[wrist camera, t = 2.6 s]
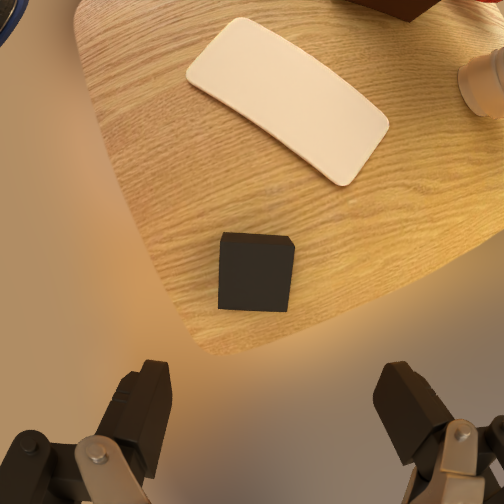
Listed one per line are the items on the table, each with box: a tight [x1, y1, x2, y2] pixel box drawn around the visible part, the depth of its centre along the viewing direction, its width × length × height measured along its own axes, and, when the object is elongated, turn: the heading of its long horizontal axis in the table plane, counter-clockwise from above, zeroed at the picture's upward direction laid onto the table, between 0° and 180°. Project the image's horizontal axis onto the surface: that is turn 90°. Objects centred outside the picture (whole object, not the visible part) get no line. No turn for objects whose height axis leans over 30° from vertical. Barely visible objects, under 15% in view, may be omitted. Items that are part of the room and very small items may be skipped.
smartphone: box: [186, 17, 389, 186], centre depth 18 cm, size 7×1×15 cm
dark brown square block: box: [218, 232, 295, 312], centre depth 21 cm, size 5×5×3 cm
